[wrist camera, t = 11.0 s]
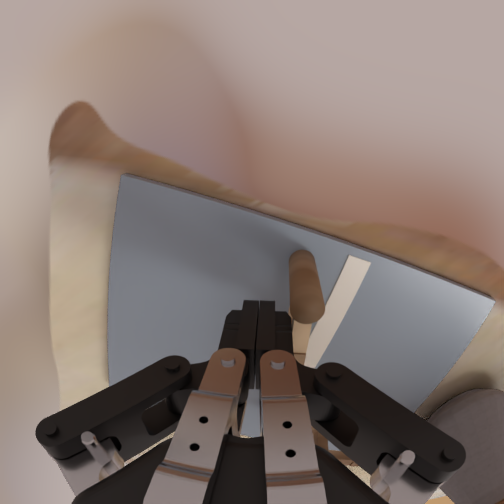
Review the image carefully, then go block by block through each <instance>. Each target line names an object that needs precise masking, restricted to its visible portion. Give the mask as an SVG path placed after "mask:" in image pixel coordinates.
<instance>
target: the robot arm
mask: <svg viewBox="0 0 504 504" xmlns="http://www.w3.org/2000/svg"><path fill="white" fill-rule="evenodd" d="M255 374H256V389H259V417H260V437H254V438H241V437H240V433H241V429H242V424H243V419H244V415H245V410H246V405H247V398H248V393H249V389H254V386H255ZM161 400H162V401H161ZM156 403H157V404H156ZM151 406H152V407H151ZM149 407H150V408H149ZM146 409H147V410H146ZM311 426H312V427H313V428H315V429H316V430H317V431H318V432H319V433H320V434H321V435H323V436H324V437H325V438H326V439H327V440H328V441H330V442H331V443H332V444H333V445H334V446H335V447H337V448H338V449H339V450H340V451H341V452H343V453H344V454H345V455H346V456H347V457H349V458H350V459H351V460H352V461H354V462H355V463H356V464H357V465H359V466H360V467H361V468H362V469H364V470H365V471H366V472H367V473H369V474H370V475H371V477H370V486H371V488H372V489H371V488H370V487H369V486H368V485H366V484H365V483H364V482H363V481H362V480H361V479H359V478H358V477H357V476H356V475H355V474H354V473H353V472H351V471H350V470H349V469H348V468H347V467H346V466H345V465H344V464H343V463H341V462H340V461H339V460H338V459H337V458H336V457H335V456H334V455H333V454H331V453H330V452H329V451H327V450H326V449H324V448H322V447H320V446H318V445H315V444H314V438H313V433H312V427H311ZM174 431H175V434H174V436H173V438H170V439H168V440H166V441H164V442H162V443H160V444H158V445H157V446H156V447H154V448H153V449H151V450H150V451H148V452H146V453H145V454H143V455H142V456H140V457H139V458H137V459H136V460H134V461H133V462H131V463H129V464H128V465H126V466H125V467H124V462H125V461H127V460H129V459H130V458H132V457H134V456H136V455H137V454H139V453H141V452H142V451H144V450H146V449H147V448H149V447H151V446H152V445H154V444H155V443H157V442H159V441H160V440H162V439H163V438H165V437H166V436H168V435H170V434H171V433H173V432H174ZM36 438H37V440H38V441H39V443H40V444H41V445H42V446H43V447H44V448H45V449H46V450H47V452H48V454H49V455H50V456H51V457H52V458H53V460H54V461H55V462H56V463H57V464H58V466H59V468H60V470H61V471H62V473H63V475H64V477H65V479H66V480H67V482H68V484H69V485H70V487H71V489H72V491H73V492H74V494H75V496H76V498H75V499H74V501H73V502H72V504H425V503H426V502H427V501H428V499H429V498H430V497H431V496H432V494H433V493H434V492H435V491H436V490H437V489H438V488H439V487H440V486H441V485H443V484H444V483H445V482H446V481H447V480H448V479H449V478H450V477H451V476H452V475H453V474H454V473H455V472H456V471H458V470H459V469H460V468H461V466H462V465H463V464H464V462H465V459H466V451H465V449H464V447H463V445H462V444H461V443H460V442H458V441H457V440H455V439H454V438H452V437H451V436H449V435H447V434H446V433H444V432H443V431H441V430H440V429H438V428H436V427H435V426H433V425H432V424H430V423H429V422H427V421H426V420H424V419H423V418H421V417H419V416H418V415H416V414H415V413H413V412H412V411H410V410H409V409H407V408H406V407H404V406H403V405H401V404H400V403H398V402H397V401H395V400H394V399H392V398H391V397H389V396H388V395H386V394H385V393H383V392H382V391H381V390H379V389H378V388H376V387H375V386H373V385H372V384H370V383H369V382H367V381H366V380H364V379H363V378H362V377H360V376H359V375H357V374H356V373H354V372H353V371H352V370H350V369H349V368H347V367H346V366H344V365H342V364H340V363H336V362H328V363H324V364H322V365H320V366H319V367H318V368H317V369H315V368H310V367H307V366H304V365H302V364H300V363H299V362H298V361H297V360H296V359H295V357H294V353H293V337H292V323H291V317H290V316H289V314H288V313H287V312H286V311H275V301H266V300H260V306H259V300H244V301H243V306H242V310H231V312H230V313H229V314H228V315H227V316H226V319H225V323H224V327H223V331H222V335H221V339H220V343H219V347H218V350H217V351H216V352H214V353H213V354H212V356H211V358H210V360H208V361H205V362H202V363H195V364H190V362H189V361H188V360H187V359H186V358H185V357H182V356H178V355H171V356H167V357H164V358H162V359H160V360H159V361H157V362H155V363H153V364H151V365H149V366H148V367H146V368H144V369H142V370H140V371H138V372H136V373H135V374H133V375H131V376H129V377H127V378H125V379H123V380H121V381H119V382H117V383H116V384H114V385H112V386H110V387H108V388H106V389H104V390H102V391H100V392H98V393H96V394H94V395H92V396H90V397H88V398H86V399H84V400H82V401H80V402H78V403H76V404H74V405H72V406H70V407H68V408H66V409H64V410H62V411H60V412H58V413H56V414H53V415H51V416H49V417H47V418H45V419H43V420H42V421H41V422H40V423H39V424H38V426H37V428H36Z"/></svg>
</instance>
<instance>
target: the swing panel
mask: <svg viewBox="0 0 504 504" xmlns="http://www.w3.org/2000/svg"><path fill="white" fill-rule="evenodd" d="M289 292H290V307H289V309H288V314H289V316H290V317H291V323H292V337H293V353H294V357H295V359H296V360H297V361H298V362H299V363H300V364H302V365H304V363H305V358H306V352H307V347H308V342H309V337H310V332H311V326H312V323H315V322H317V321H318V320H320V319H321V318H322V316H323V315H324V313H325V304H324V299H323V294H322V289H321V285H320V280H319V276H318V271H317V267H316V262H315V258H314V256H313V254H312V253H311V252H309V251H307V250H297V251H295V252H294V253H292V254H291V256H290V258H289Z"/></svg>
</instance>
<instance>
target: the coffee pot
mask: <svg viewBox="0 0 504 504" xmlns="http://www.w3.org/2000/svg"><path fill="white" fill-rule="evenodd" d="M427 422H429V423H430V424H432V425H433V426H435V427H436V428H438V429H440V430H441V431H443V432H444V433H446V434H447V435H449V436H451V437H452V438H454V439H455V440H457V441H458V442H460V443H461V444H462V445H463V447H464V449H465V451H466V459H465V462H464V464H463V465H462V466H461V468H460V469H459V470H458V471H456V472H455V473H454V474H453V475H452V476H451V477H450V478H449V479H448V480H447V481H446V482H445V483H444V484H443V485H441V486H440V487H439V488H440V489H441V490H442V491H443V492H444V493H445V494H446V495H447V496H448V497H449V498H450V499H451V500H452V501H453V502H454V503H455V504H504V392H503V391H500V390H497V389H485V390H483V389H474V390H470V391H467V392H464V393H462V394H460V395H458V396H456V397H454V398H453V399H451V400H449V401H448V402H446V403H445V404H444V405H442V406H441V407H440V408H439V409H437V410H436V411H435V412H434V413H433V414H432V415H431V417H430V418H429V419H428V420H427Z"/></svg>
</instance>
